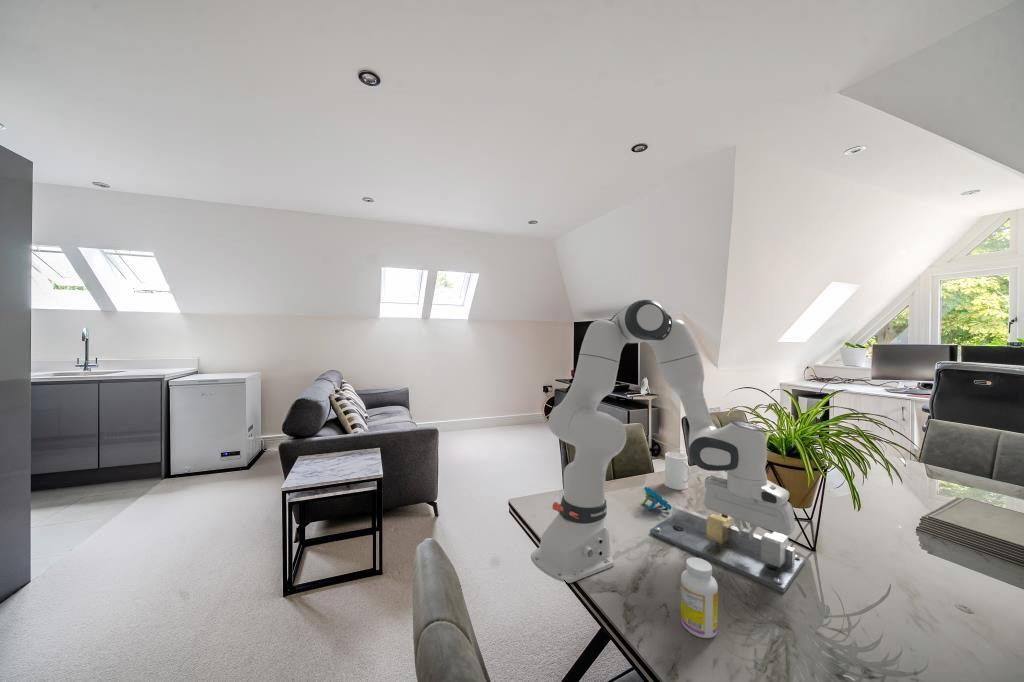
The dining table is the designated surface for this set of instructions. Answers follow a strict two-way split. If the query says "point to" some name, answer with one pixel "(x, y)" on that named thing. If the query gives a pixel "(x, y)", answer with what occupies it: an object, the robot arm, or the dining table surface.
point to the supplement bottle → (699, 599)
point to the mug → (676, 471)
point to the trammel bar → (767, 546)
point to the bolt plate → (728, 555)
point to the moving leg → (718, 527)
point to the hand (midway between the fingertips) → (746, 537)
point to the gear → (655, 499)
